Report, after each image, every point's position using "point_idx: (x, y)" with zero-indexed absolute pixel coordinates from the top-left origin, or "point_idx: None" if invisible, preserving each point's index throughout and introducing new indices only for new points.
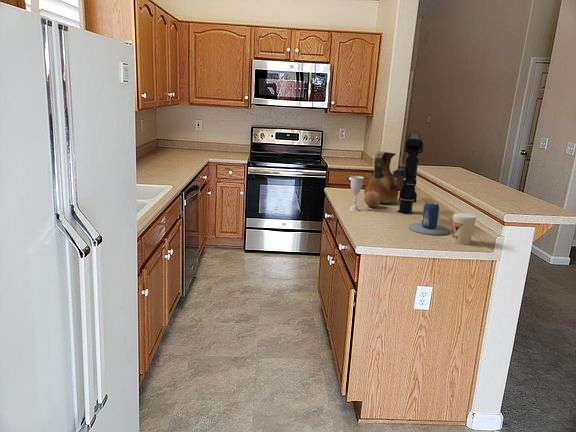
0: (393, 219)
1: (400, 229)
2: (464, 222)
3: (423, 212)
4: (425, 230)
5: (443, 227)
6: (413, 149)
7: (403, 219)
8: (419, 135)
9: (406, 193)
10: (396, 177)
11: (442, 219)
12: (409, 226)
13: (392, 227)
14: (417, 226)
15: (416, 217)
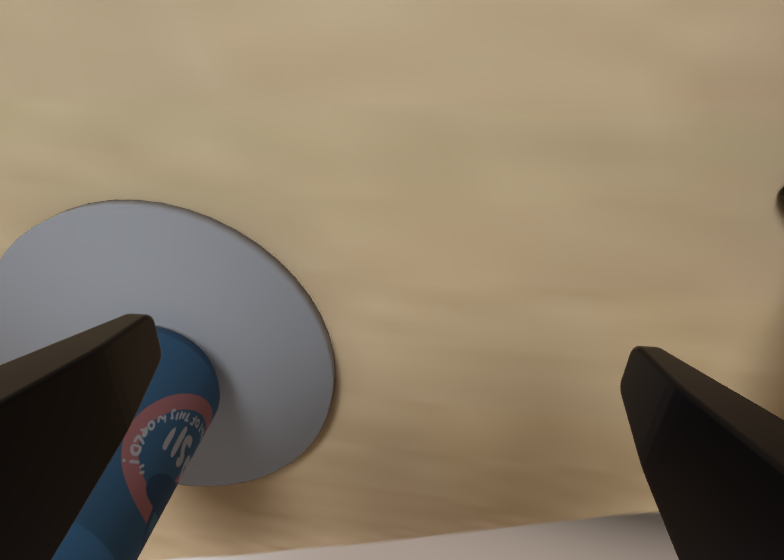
0: (447, 20)
1: (6, 106)
2: None
3: None
4: (52, 336)
5: (251, 465)
6: None
7: (494, 155)
8: None
9: (16, 362)
10: None
11: (608, 488)
12: (93, 207)
13: (23, 7)
14: (149, 283)
15: (637, 300)
